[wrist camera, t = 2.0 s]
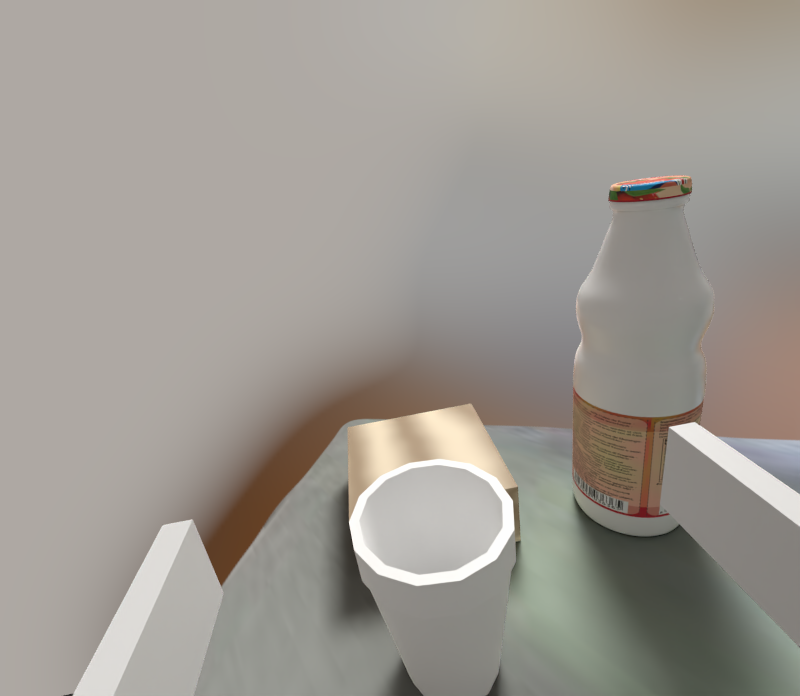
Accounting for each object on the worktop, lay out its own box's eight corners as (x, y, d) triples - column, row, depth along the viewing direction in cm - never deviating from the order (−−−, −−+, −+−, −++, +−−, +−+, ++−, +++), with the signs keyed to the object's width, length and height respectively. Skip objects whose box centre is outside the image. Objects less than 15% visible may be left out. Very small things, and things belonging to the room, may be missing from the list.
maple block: (475, 447, 50) (471, 403, 48) (520, 540, 37) (517, 486, 35) (357, 471, 49) (347, 427, 47) (362, 574, 37) (348, 521, 34)
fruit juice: (573, 531, 37) (577, 196, 27) (570, 462, 45) (572, 184, 35) (700, 548, 34) (763, 174, 23) (673, 471, 42) (710, 166, 31)
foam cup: (359, 654, 30) (320, 515, 26) (449, 571, 36) (431, 442, 31) (457, 783, 23) (428, 625, 18) (552, 657, 28) (549, 507, 24)
